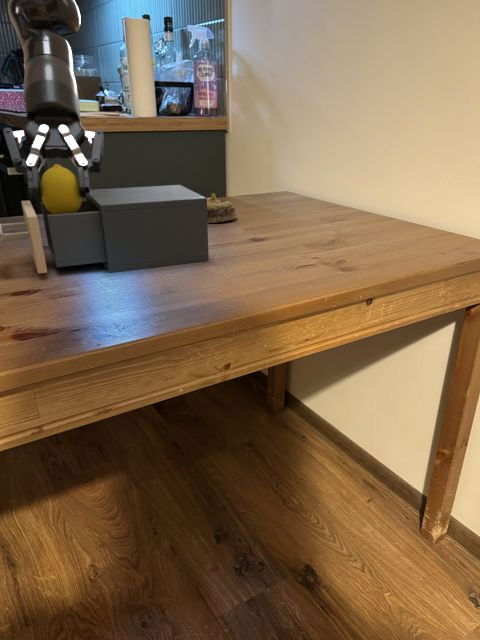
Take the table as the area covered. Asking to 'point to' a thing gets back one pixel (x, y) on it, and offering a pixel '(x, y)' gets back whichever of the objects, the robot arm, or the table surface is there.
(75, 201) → the lemon
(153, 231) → the cabinet
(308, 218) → the table surface
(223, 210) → the cake
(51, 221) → the drawer
